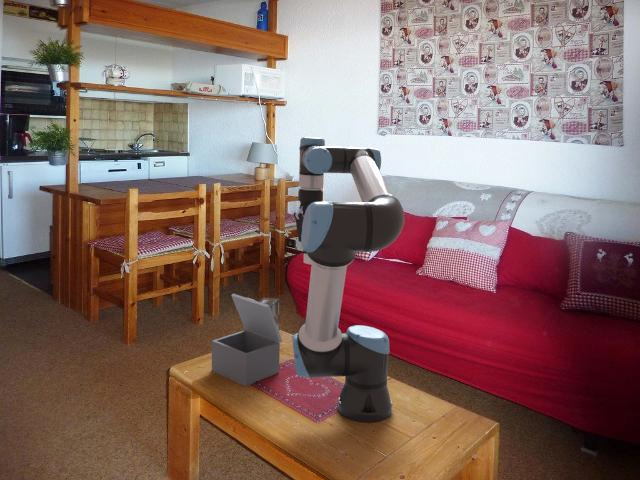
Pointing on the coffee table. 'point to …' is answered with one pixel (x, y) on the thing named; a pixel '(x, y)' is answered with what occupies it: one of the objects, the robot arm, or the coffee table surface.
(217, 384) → the coffee table surface
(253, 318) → the lid
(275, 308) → the coffee box
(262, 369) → the block
